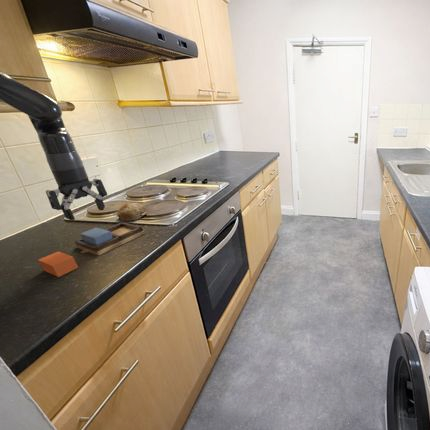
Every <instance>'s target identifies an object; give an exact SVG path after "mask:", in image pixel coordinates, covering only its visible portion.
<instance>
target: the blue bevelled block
mask: <svg viewBox="0 0 430 430" xmlns="http://www.w3.org/2000/svg"><path fill="white" fill-rule="evenodd" d="M104 229H105V228H100V227H94V228H91V229H89V230H86V231H83V232H81V233H80V236H81V239H82V238H83V240H84V242H85V243H88V244H91V245H94V246H97V245H100V244H102V243H104V242H106V241H109V240H111V239H113V237H112V234H111V232H110V231H107V230H104Z"/></svg>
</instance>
